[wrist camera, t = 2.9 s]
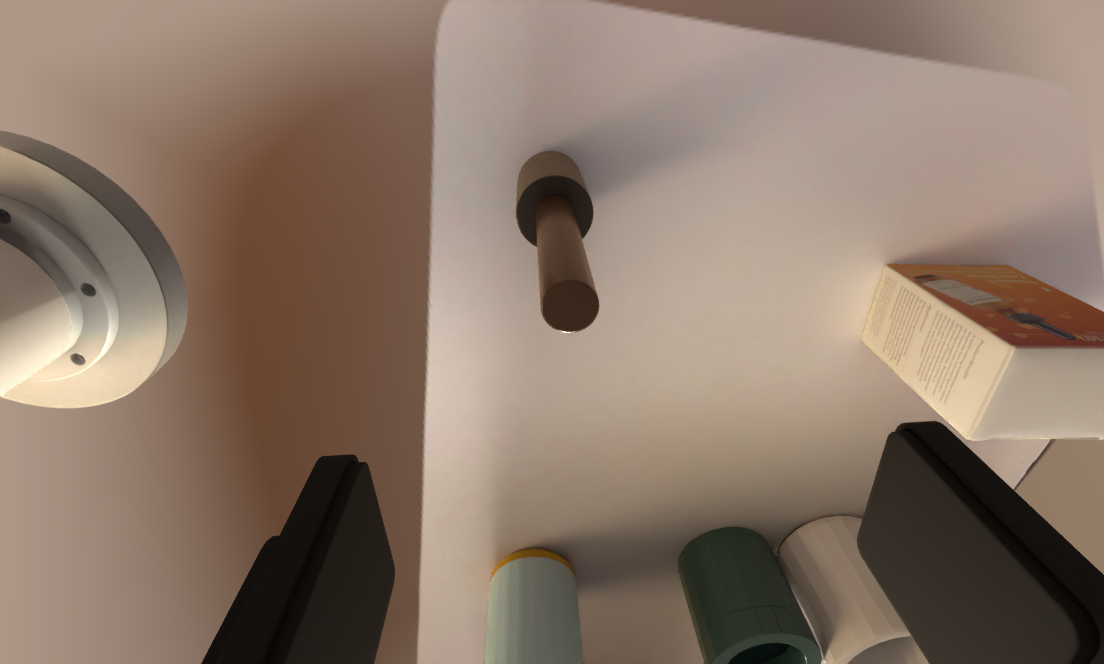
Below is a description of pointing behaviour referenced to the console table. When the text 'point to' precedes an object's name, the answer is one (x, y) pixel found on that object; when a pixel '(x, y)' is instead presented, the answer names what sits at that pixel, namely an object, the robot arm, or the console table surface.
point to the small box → (992, 350)
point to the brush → (558, 238)
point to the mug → (843, 596)
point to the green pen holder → (743, 601)
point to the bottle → (533, 611)
